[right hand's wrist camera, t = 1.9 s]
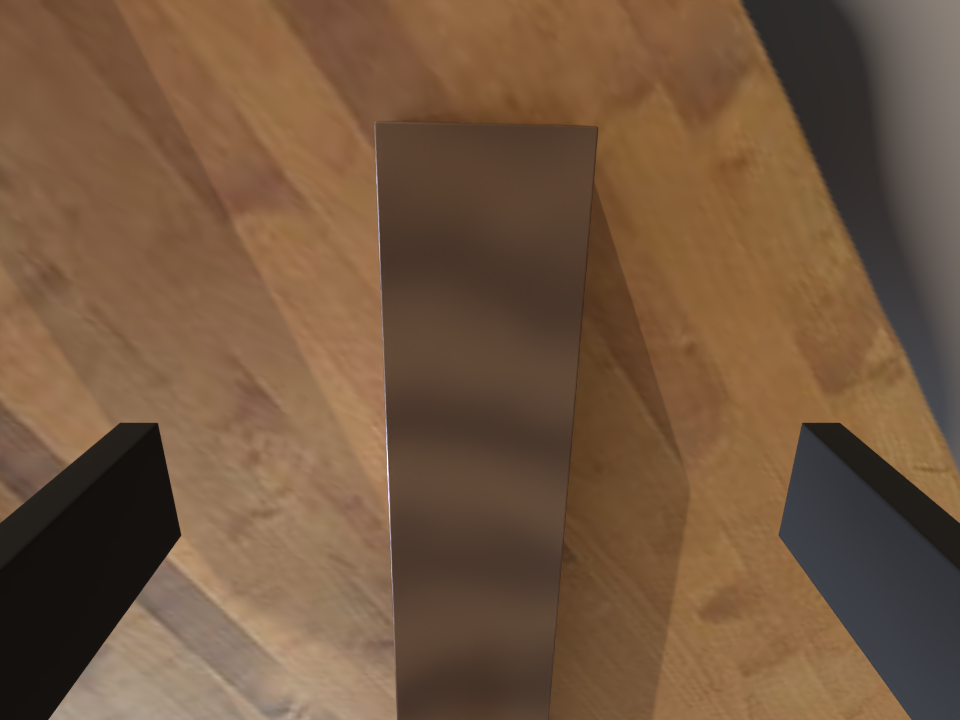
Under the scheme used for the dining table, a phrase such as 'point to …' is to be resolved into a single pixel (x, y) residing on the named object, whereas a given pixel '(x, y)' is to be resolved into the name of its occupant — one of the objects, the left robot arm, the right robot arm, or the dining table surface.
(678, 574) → the dining table surface
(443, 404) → the wooden beam
